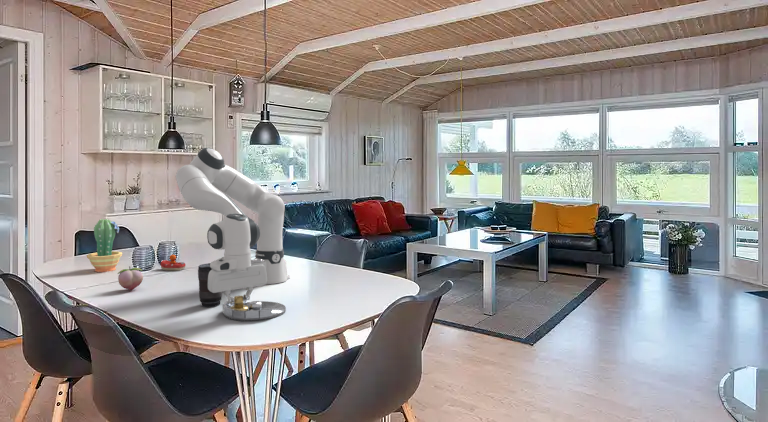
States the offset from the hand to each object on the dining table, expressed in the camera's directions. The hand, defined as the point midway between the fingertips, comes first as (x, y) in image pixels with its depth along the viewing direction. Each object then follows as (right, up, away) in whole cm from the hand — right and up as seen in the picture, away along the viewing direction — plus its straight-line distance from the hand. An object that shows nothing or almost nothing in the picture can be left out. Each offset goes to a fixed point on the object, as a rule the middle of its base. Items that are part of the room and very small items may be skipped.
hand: (238, 301), depth 176 cm
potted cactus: (-86, +2, +74) cm, 114 cm away
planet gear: (0, -4, 0) cm, 4 cm away
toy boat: (-54, +2, +76) cm, 94 cm away
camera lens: (-14, -4, +13) cm, 20 cm away
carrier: (+5, -5, +4) cm, 8 cm away
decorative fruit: (-54, -2, +35) cm, 65 cm away
